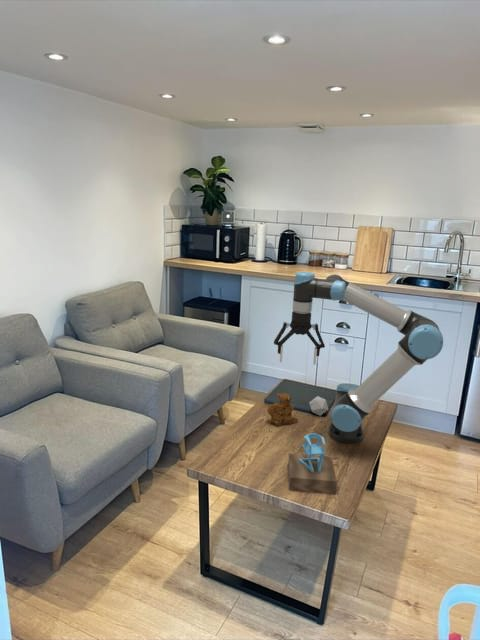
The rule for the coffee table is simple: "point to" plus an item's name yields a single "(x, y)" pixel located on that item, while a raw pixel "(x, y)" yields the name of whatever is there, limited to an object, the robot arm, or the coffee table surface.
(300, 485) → the wooden square box
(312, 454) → the chair
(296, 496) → the coffee table surface
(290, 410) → the stuffed squirrel
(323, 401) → the die
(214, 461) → the coffee table surface
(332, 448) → the coffee table surface
